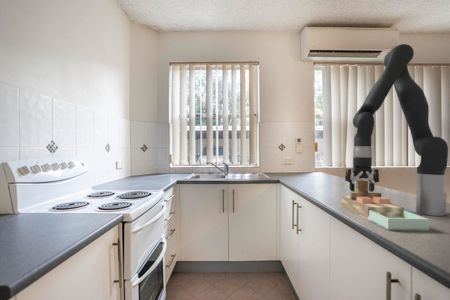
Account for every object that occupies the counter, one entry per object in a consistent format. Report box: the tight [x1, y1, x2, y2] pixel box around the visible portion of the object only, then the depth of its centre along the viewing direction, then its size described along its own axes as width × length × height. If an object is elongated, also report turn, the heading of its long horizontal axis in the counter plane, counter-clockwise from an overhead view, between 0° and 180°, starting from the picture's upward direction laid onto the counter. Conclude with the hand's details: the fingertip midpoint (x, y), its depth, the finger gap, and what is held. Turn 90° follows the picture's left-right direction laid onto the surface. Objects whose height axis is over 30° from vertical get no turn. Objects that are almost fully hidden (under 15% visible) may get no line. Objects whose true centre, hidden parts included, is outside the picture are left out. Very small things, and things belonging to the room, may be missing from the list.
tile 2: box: [373, 196, 391, 204], centre depth 104 cm, size 4×4×2 cm
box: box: [367, 210, 430, 232], centre depth 89 cm, size 14×12×4 cm
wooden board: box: [341, 195, 405, 221], centre depth 106 cm, size 14×22×5 cm, turn 179°
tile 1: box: [357, 197, 373, 204], centre depth 104 cm, size 4×4×2 cm
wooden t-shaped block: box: [349, 179, 382, 200], centre depth 112 cm, size 13×6×8 cm, turn 89°
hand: (361, 191), depth 112 cm, fingers open, 8 cm apart
